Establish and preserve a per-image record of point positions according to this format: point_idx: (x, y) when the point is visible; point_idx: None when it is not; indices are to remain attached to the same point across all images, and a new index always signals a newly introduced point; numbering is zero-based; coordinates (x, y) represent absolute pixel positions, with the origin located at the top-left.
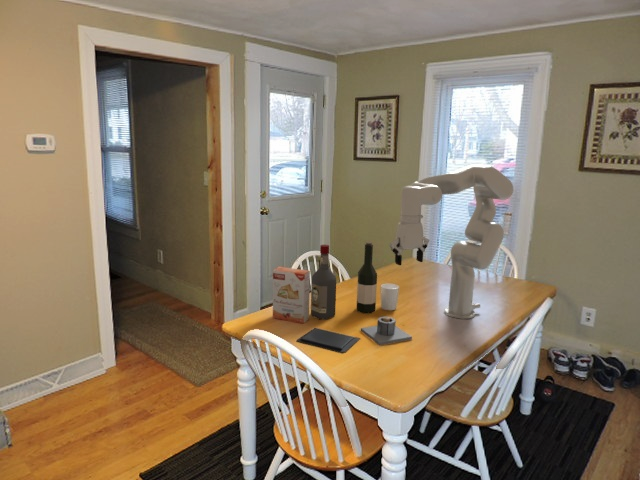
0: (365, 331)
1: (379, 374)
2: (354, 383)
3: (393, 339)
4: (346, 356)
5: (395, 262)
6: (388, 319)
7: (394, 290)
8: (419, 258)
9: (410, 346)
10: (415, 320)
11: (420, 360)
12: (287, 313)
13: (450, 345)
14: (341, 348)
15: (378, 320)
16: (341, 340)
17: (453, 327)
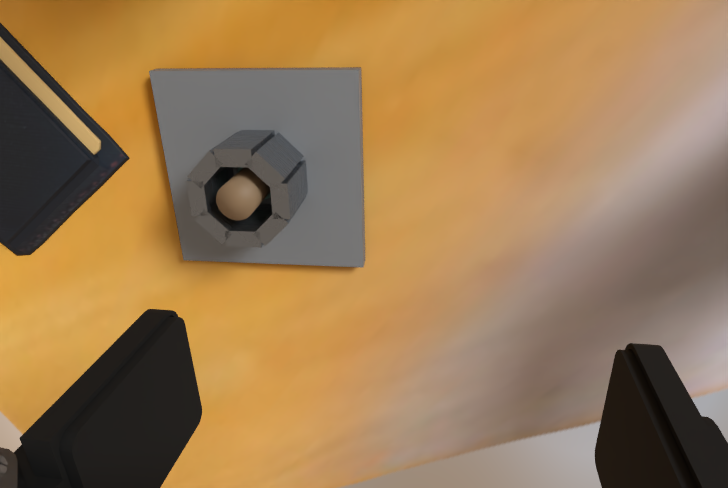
0: (159, 126)
1: None
2: (23, 428)
3: (260, 259)
4: (29, 282)
5: (144, 315)
6: (240, 217)
7: None
8: (614, 469)
9: (320, 310)
10: (564, 41)
11: (292, 408)
12: None
13: (495, 367)
14: (7, 242)
15: (187, 189)
16: (16, 178)
17: (694, 222)
